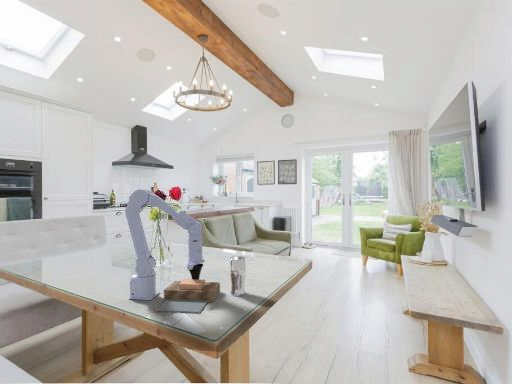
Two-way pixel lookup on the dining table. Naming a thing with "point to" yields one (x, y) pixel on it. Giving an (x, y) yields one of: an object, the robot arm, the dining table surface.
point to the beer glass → (237, 275)
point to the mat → (183, 306)
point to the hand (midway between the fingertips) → (195, 281)
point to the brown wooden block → (192, 292)
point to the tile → (192, 284)
